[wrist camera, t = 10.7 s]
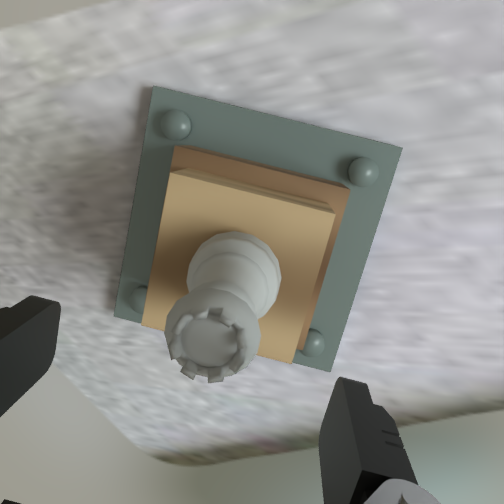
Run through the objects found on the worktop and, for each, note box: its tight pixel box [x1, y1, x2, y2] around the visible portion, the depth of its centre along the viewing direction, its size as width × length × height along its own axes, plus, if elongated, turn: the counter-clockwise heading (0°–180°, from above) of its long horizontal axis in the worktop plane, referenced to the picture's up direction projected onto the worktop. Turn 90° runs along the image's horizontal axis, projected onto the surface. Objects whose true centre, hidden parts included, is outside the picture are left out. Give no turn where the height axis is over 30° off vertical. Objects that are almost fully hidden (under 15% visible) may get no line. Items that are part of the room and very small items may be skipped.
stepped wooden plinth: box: [141, 145, 350, 364], centre depth 25 cm, size 10×10×8 cm
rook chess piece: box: [164, 231, 281, 383], centre depth 18 cm, size 4×4×8 cm
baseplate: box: [114, 86, 403, 372], centre depth 29 cm, size 16×16×2 cm
